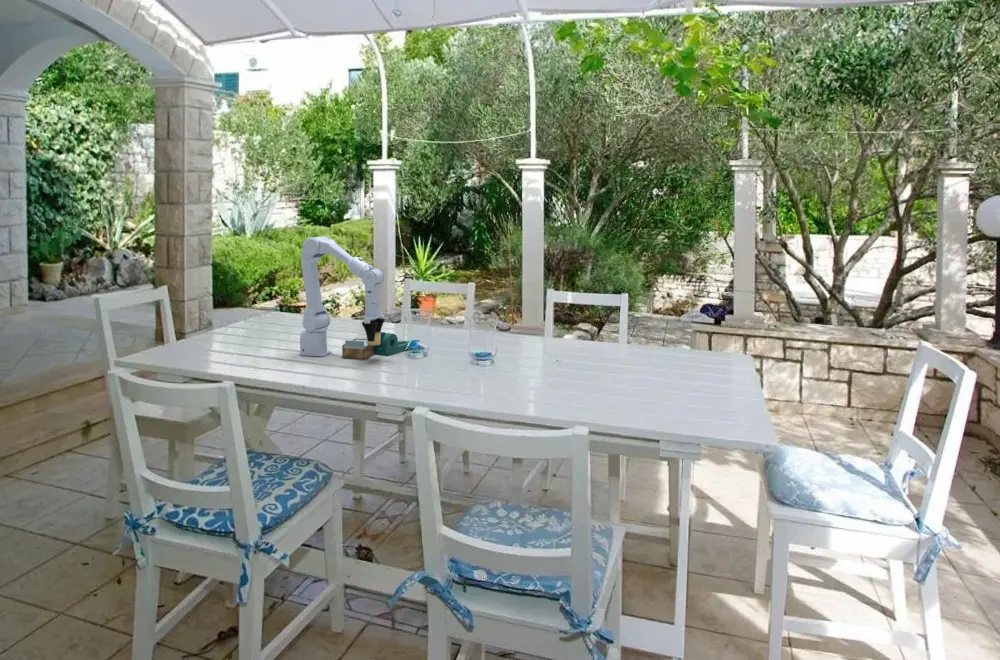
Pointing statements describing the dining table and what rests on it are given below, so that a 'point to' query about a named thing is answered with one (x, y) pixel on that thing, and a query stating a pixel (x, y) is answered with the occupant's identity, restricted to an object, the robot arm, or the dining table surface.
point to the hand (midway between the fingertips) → (373, 339)
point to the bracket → (390, 345)
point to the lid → (355, 344)
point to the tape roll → (377, 339)
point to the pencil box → (358, 352)
